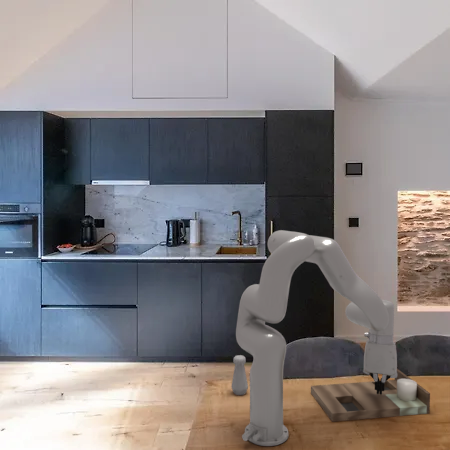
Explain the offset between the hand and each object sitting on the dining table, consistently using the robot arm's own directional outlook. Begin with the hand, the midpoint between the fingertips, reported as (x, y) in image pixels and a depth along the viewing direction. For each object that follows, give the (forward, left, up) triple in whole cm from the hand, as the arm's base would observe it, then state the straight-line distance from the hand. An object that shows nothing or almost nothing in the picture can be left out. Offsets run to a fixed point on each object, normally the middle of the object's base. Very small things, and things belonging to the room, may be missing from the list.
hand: (379, 392), depth 152 cm
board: (-2, +3, -4) cm, 5 cm away
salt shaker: (-21, +42, -4) cm, 47 cm away
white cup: (+4, -8, -1) cm, 9 cm away
